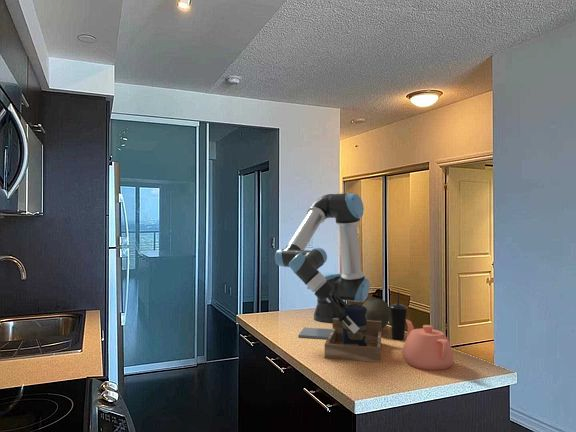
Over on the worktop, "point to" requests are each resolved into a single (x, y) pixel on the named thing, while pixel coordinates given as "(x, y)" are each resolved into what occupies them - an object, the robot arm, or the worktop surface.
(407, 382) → the worktop surface
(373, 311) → the kiwi fruit
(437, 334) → the teapot
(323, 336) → the slate tile
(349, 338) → the canister
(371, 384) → the worktop surface
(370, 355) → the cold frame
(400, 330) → the drinking cup
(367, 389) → the worktop surface
